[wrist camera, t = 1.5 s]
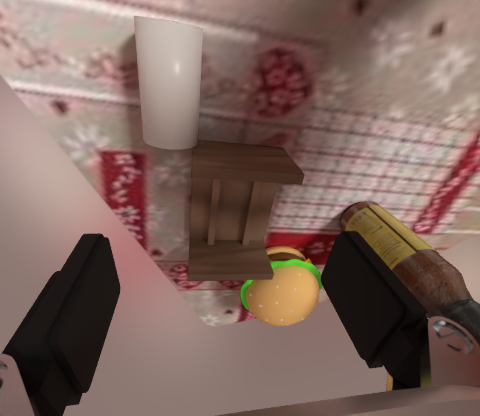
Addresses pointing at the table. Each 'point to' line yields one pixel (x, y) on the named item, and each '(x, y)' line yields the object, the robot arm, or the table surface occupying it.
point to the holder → (234, 208)
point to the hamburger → (283, 289)
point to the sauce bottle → (415, 265)
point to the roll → (169, 81)
